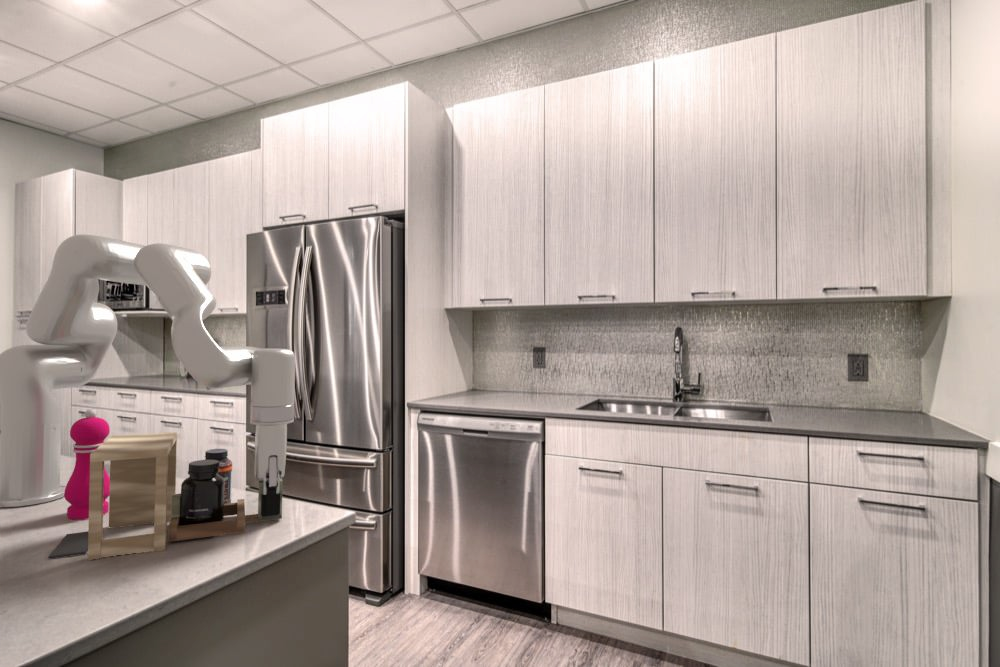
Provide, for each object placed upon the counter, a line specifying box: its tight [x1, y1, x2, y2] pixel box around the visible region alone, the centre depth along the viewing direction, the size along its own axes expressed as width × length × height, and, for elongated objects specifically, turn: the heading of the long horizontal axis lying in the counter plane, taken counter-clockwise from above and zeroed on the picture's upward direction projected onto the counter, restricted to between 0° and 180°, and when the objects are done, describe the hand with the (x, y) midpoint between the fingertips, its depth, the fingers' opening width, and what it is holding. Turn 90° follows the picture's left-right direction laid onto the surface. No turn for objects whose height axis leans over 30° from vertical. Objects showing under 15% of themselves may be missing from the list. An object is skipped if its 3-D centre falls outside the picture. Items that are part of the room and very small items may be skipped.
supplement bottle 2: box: [204, 448, 233, 504], centre depth 108 cm, size 6×6×11 cm
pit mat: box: [47, 531, 88, 559], centre depth 87 cm, size 10×5×1 cm, turn 26°
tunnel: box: [87, 431, 178, 561], centre depth 91 cm, size 16×10×16 cm, turn 26°
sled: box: [167, 478, 284, 543], centre depth 97 cm, size 11×18×7 cm, turn 116°
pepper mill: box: [63, 408, 111, 520], centre depth 102 cm, size 7×7×20 cm
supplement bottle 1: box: [180, 459, 225, 526], centre depth 95 cm, size 7×7×12 cm
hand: (270, 512), depth 100 cm, fingers closed on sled, 2 cm apart
